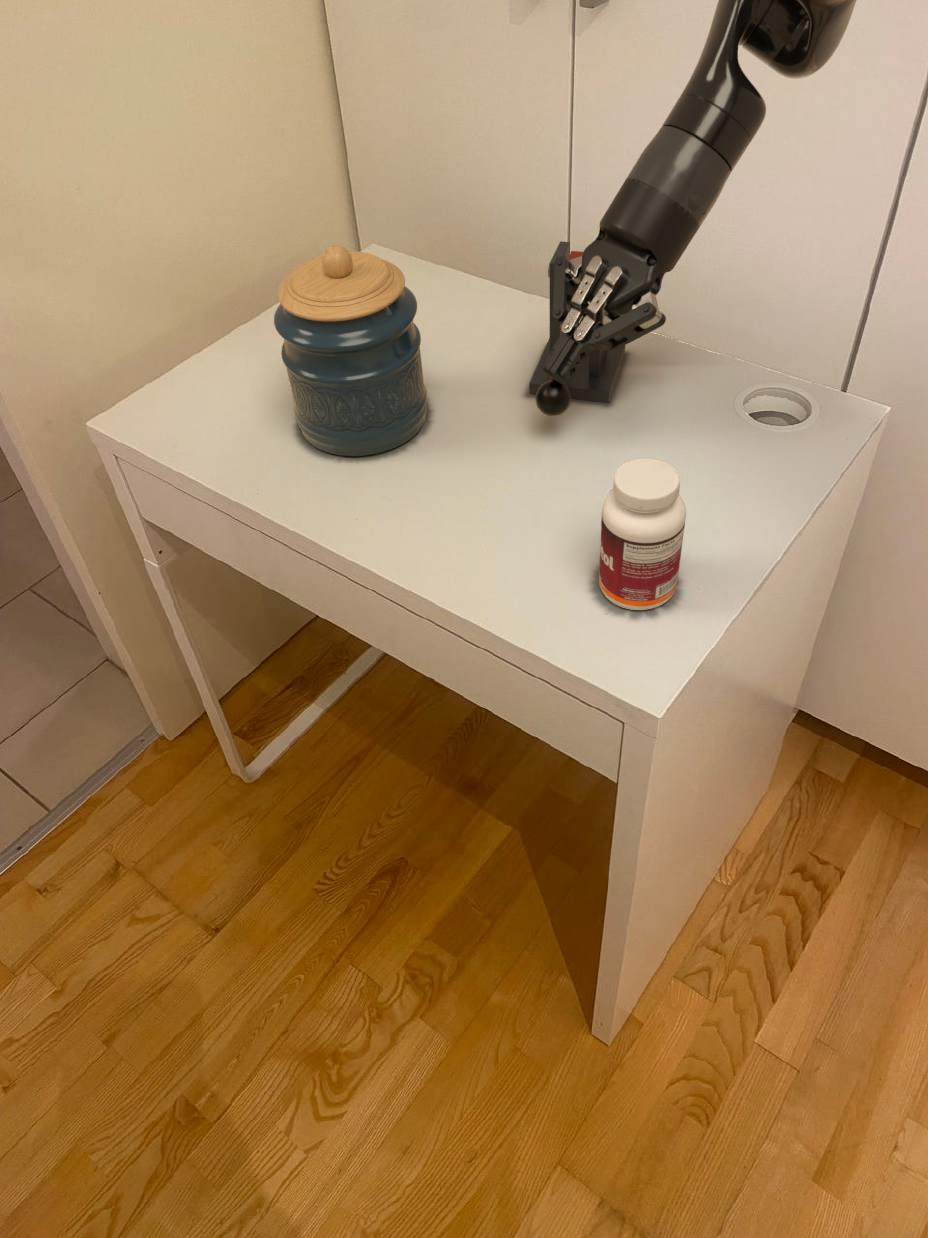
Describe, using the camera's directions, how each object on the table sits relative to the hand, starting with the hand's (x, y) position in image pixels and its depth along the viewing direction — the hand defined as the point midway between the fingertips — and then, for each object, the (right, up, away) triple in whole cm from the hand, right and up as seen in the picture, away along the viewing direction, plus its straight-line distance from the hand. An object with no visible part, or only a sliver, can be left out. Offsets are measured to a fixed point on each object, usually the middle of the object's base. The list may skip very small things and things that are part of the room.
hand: (553, 378), depth 86 cm
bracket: (+4, +3, +12) cm, 13 cm away
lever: (+2, +4, +4) cm, 6 cm away
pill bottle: (+6, -19, -9) cm, 22 cm away
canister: (-18, -2, +9) cm, 20 cm away
